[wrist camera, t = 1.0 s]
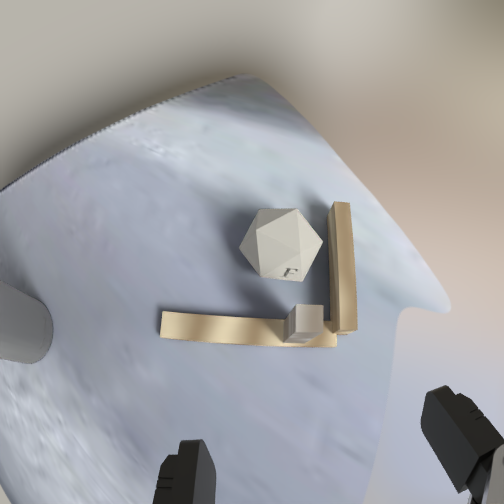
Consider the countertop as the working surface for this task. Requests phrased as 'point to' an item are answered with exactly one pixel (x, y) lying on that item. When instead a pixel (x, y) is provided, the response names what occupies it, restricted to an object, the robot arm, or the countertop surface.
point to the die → (280, 244)
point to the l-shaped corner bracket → (301, 317)
